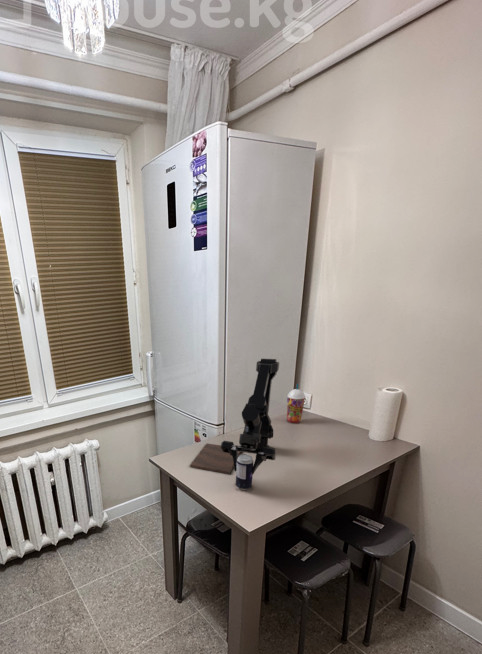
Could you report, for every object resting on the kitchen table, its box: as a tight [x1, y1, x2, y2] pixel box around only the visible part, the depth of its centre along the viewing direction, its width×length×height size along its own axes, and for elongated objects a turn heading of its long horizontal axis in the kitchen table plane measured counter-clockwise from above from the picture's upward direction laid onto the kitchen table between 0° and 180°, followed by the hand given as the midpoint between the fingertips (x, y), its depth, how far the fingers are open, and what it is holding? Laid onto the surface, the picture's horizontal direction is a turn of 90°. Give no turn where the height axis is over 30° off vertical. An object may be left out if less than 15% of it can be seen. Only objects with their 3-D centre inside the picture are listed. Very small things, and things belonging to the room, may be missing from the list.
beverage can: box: [235, 453, 254, 491], centre depth 127 cm, size 6×6×12 cm
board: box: [189, 443, 242, 475], centre depth 150 cm, size 22×16×1 cm
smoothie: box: [286, 383, 306, 424], centre depth 181 cm, size 8×8×20 cm
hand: (243, 472), depth 126 cm, fingers closed on beverage can, 5 cm apart
